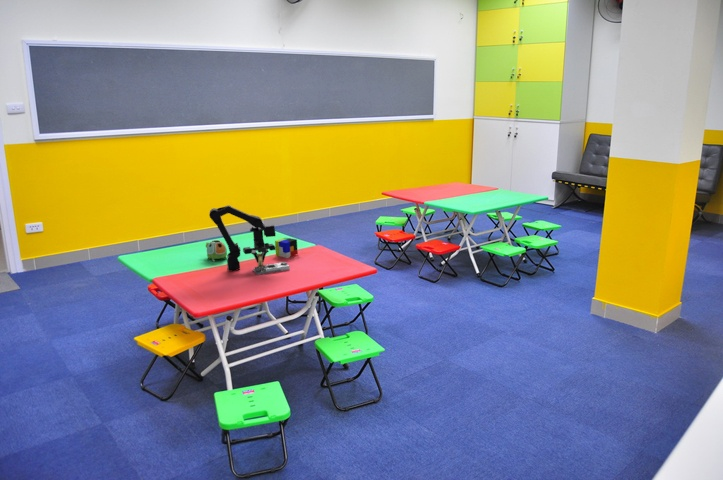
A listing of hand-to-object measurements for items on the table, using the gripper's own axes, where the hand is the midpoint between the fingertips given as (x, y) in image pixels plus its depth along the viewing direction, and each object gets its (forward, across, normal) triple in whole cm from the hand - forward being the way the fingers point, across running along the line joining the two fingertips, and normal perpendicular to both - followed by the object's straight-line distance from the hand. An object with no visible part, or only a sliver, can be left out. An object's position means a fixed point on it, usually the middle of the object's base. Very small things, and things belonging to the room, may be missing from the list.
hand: (260, 262), depth 349 cm
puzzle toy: (+3, +22, +17) cm, 28 cm away
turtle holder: (+3, -21, +32) cm, 38 cm away
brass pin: (+2, 0, 0) cm, 2 cm away
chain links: (+3, +4, -10) cm, 11 cm away
